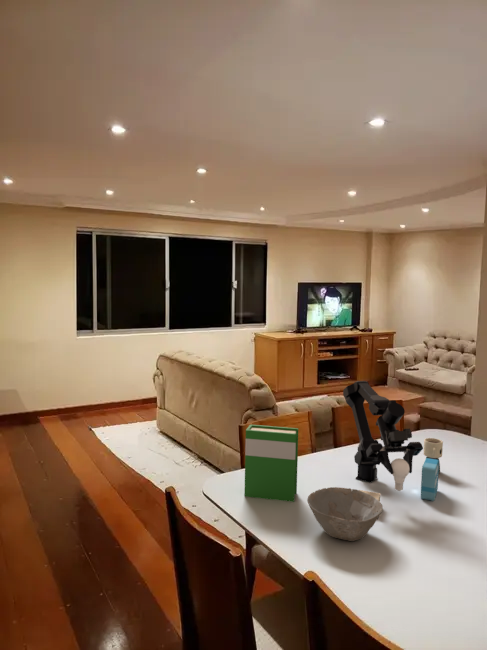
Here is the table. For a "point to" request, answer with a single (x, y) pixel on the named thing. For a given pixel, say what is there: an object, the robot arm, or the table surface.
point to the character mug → (433, 448)
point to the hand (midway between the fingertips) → (401, 473)
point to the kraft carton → (373, 494)
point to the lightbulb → (400, 472)
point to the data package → (429, 479)
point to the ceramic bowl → (344, 511)
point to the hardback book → (271, 462)
